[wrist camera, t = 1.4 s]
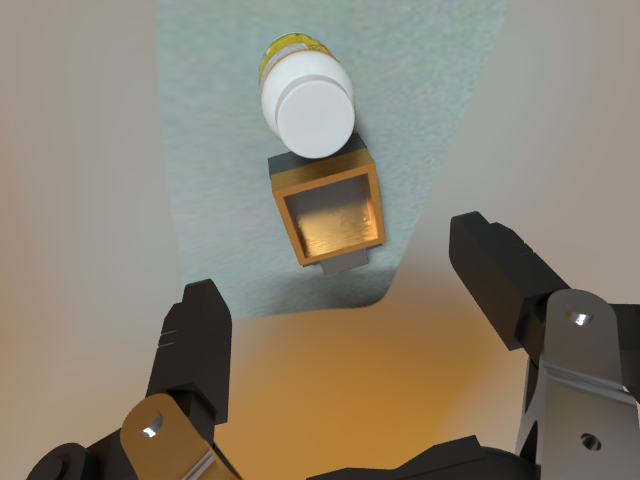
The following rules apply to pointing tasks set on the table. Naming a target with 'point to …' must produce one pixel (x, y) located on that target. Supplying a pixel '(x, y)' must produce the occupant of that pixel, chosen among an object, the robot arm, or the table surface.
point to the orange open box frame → (329, 205)
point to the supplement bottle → (306, 95)
